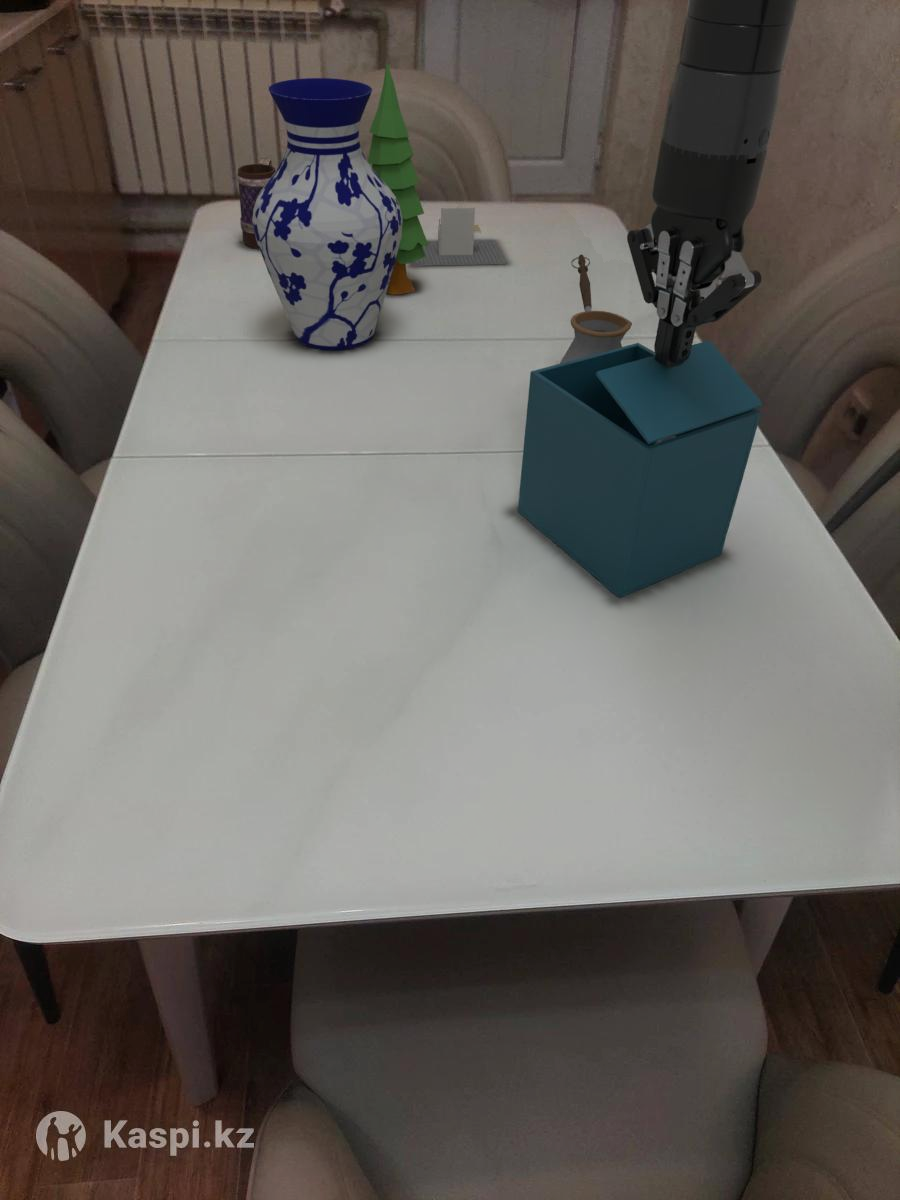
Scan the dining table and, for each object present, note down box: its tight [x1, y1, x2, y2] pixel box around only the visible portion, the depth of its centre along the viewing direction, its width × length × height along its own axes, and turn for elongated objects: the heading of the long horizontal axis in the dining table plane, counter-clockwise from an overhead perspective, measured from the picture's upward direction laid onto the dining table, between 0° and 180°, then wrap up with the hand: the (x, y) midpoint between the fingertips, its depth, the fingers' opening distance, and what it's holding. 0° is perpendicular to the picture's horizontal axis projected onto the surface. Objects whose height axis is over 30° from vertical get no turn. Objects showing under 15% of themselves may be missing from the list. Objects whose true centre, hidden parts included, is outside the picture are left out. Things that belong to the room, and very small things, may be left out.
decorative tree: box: [367, 61, 429, 296], centre depth 127 cm, size 10×9×30 cm
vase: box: [252, 77, 403, 351], centre depth 113 cm, size 19×19×30 cm
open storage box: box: [517, 342, 762, 599], centre depth 84 cm, size 16×13×16 cm
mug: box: [237, 157, 276, 250], centre depth 148 cm, size 10×7×12 cm
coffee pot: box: [559, 254, 633, 364], centre depth 104 cm, size 21×12×15 cm, turn 2°
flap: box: [596, 339, 764, 444], centre depth 75 cm, size 8×13×1 cm, turn 122°
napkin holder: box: [436, 204, 482, 256], centre depth 147 cm, size 3×7×7 cm, turn 98°
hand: (669, 362), depth 75 cm, fingers closed
